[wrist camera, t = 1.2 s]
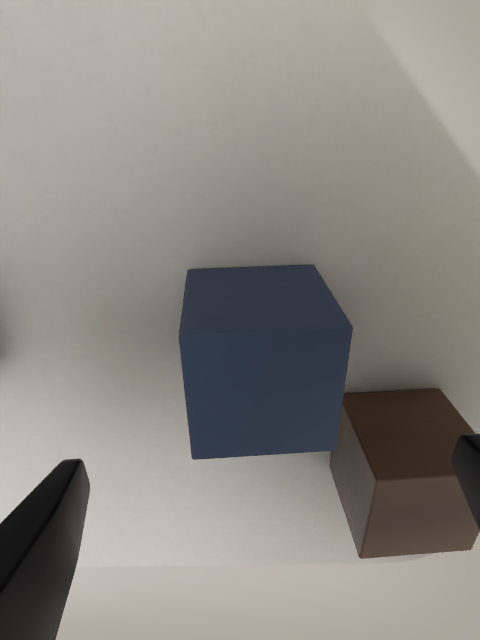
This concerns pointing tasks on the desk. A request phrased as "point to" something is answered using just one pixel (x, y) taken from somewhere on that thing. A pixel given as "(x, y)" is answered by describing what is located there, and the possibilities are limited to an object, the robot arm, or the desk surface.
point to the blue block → (262, 361)
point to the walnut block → (402, 473)
